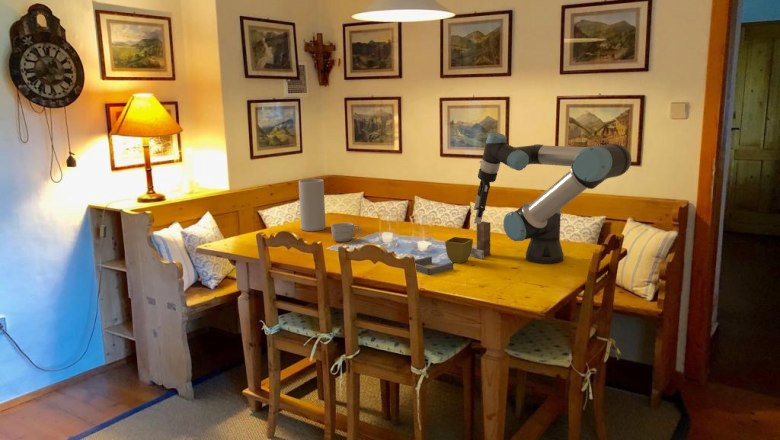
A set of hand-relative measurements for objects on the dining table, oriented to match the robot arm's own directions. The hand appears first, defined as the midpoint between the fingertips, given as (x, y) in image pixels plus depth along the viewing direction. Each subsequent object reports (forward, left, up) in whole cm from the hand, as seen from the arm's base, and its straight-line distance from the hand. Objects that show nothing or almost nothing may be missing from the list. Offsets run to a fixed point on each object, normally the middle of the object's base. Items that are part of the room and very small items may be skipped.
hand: (476, 216), depth 271 cm
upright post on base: (-4, +2, -16) cm, 17 cm away
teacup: (+58, +28, -16) cm, 66 cm away
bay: (-4, +30, -16) cm, 34 cm away
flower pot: (-4, +14, -16) cm, 22 cm away
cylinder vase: (+91, +26, -16) cm, 96 cm away
